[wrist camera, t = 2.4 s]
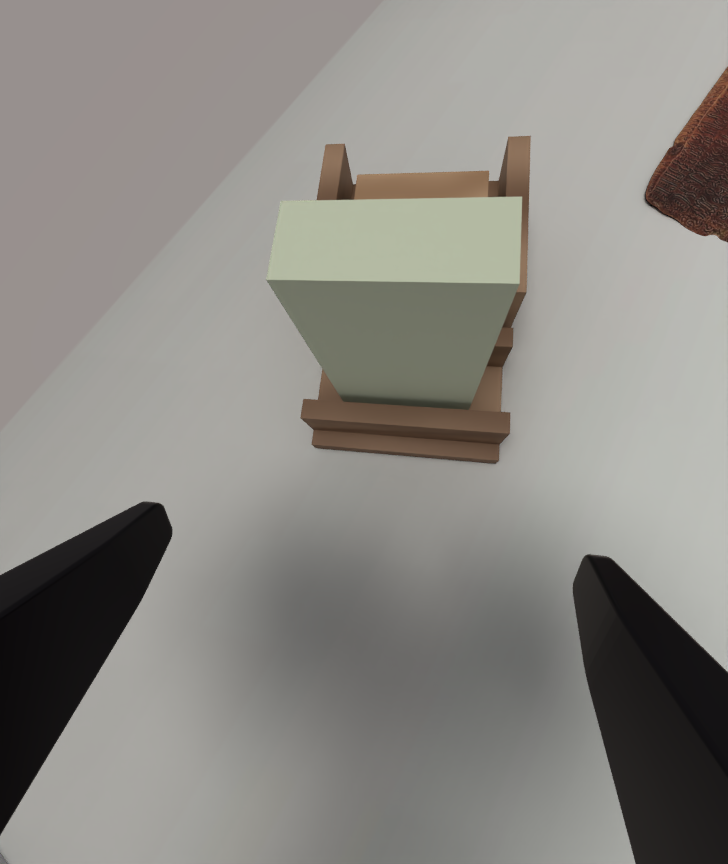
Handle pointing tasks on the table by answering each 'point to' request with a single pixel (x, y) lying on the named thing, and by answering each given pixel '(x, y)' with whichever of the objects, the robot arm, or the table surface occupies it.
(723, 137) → the wooden tablet
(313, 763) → the table surface
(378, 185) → the small oak offcut
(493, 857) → the table surface
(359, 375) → the tall board
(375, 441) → the offcut rack
